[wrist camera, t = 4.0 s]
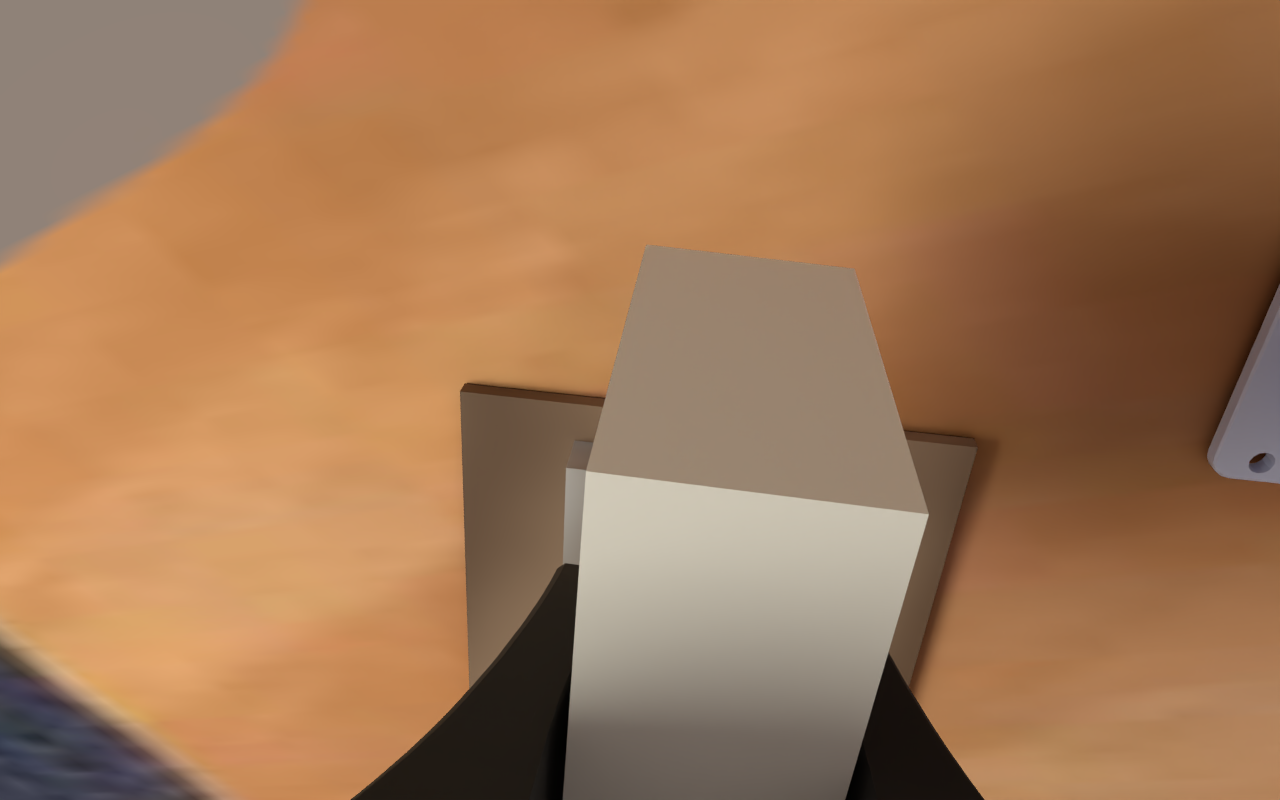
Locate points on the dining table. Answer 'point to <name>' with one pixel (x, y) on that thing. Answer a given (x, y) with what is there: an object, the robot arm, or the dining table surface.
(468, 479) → the track board
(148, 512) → the dining table surface
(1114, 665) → the dining table surface
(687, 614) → the cream rectangular block
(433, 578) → the dining table surface
